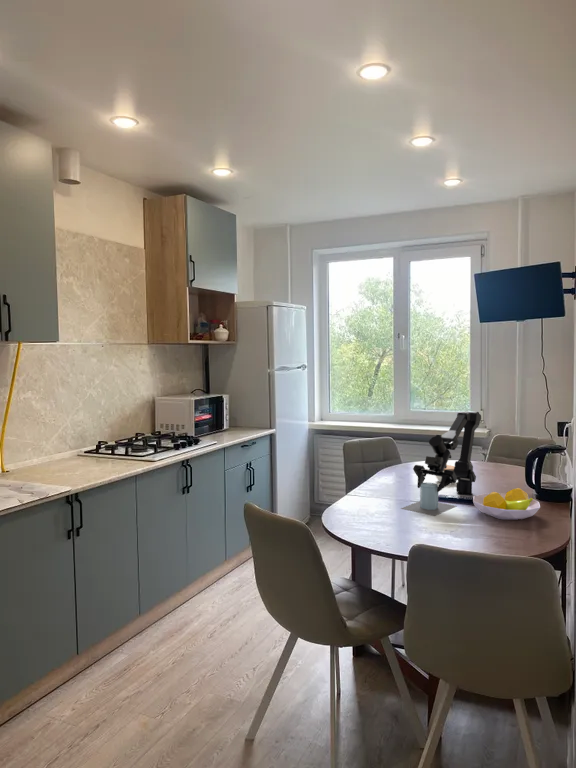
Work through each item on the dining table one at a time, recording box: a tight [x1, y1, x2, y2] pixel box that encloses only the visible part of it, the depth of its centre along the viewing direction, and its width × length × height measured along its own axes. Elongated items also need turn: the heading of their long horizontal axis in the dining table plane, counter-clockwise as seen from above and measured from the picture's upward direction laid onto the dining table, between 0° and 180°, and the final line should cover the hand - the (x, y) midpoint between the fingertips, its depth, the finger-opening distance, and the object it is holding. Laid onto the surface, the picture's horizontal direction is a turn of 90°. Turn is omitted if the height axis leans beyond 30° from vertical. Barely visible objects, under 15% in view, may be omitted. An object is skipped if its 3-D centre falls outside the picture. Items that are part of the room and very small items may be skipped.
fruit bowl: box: [472, 487, 541, 520], centre depth 238 cm, size 28×27×11 cm
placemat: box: [400, 500, 457, 517], centre depth 249 cm, size 20×16×1 cm
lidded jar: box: [435, 464, 455, 483], centre depth 298 cm, size 11×11×9 cm
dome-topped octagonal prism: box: [419, 482, 439, 510], centre depth 249 cm, size 7×7×10 cm
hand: (427, 489), depth 248 cm, fingers open, 9 cm apart
